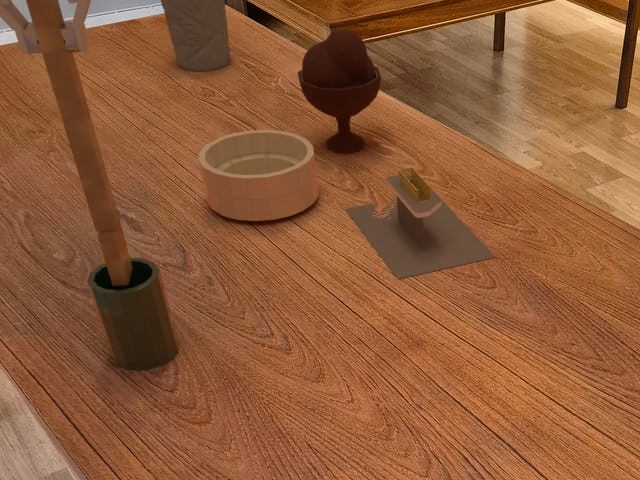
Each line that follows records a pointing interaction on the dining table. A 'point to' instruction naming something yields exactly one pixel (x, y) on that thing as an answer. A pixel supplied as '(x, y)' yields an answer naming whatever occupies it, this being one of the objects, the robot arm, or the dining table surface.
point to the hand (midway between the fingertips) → (56, 50)
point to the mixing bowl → (259, 175)
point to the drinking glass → (198, 33)
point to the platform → (418, 230)
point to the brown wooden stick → (81, 137)
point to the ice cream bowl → (340, 84)
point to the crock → (135, 316)
